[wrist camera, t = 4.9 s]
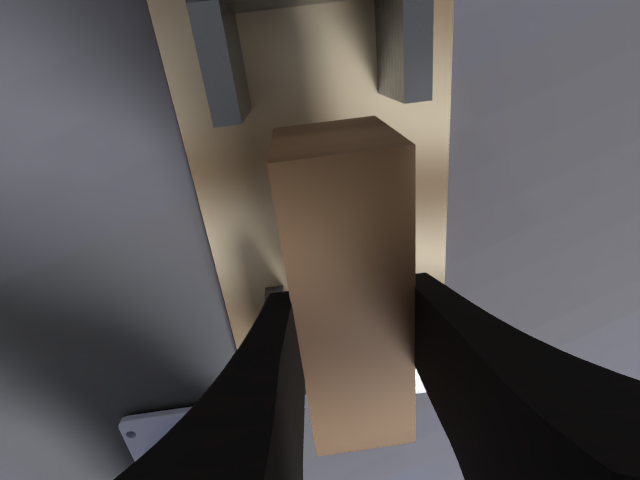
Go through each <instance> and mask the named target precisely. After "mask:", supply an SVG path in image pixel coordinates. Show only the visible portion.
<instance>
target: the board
mask: <svg viewBox="0 0 640 480" xmlns="http://www.w3.org/2000/svg"><path fill="white" fill-rule="evenodd" d="M147 4H148V8H149V12H150V16H151V19H152V23H153V27H154V31H155V35H156V39H157V43H158V46H159V50H160V54H161V58H162V62H163V66H164V70H165V73H166V77H167V81H168V85H169V89H170V93H171V97H172V100H173V104H174V108H175V112H176V116H177V120H178V124H179V127H180V131H181V135H182V139H183V143H184V147H185V151H186V155H187V158H188V162H189V166H190V170H191V174H192V178H193V182H194V185H195V189H196V193H197V197H198V201H199V205H200V209H201V212H202V216H203V220H204V224H205V228H206V232H207V236H208V239H209V243H210V247H211V251H212V255H213V259H214V263H215V266H216V270H217V274H218V278H219V282H220V286H221V290H222V293H223V297H224V301H225V305H226V309H227V313H228V317H229V321H230V324H231V328H232V332H233V336H234V340H235V344H236V348H237V349H238V348H239V346H240V345H241V343H242V342H243V340H244V338H245V337H246V335H247V333H248V332H249V330H250V329H251V327H252V325H253V324H254V322H255V320H256V318H257V316H258V315H259V313H260V311H261V309H262V307H263V305H264V296H265V288H266V287H274V286H281V285H283V287H284V291H289V290H288V284H287V278H286V272H285V266H284V261H283V255H282V249H281V243H280V237H279V232H278V226H277V220H276V214H275V208H274V202H273V197H272V191H271V185H270V179H269V173H268V168H267V160H268V154H269V148H270V142H271V137H272V131H273V128H279V127H287V126H295V125H303V124H311V123H319V122H327V121H335V120H343V119H350V118H358V117H366V116H374V115H375V116H376V117H378V118H379V119H380V120H382V121H383V122H385V123H386V124H387V125H389V126H390V127H392V128H393V129H394V130H396V131H397V132H399V133H400V134H401V135H403V136H404V137H406V138H407V139H408V140H410V141H411V142H413V143H414V144H415V145H416V273H424V272H426V273H428V274H429V275H431V276H432V277H434V278H435V279H437V280H438V281H440V282H441V283H443V284H444V283H445V253H446V223H447V194H448V164H449V135H450V105H451V76H452V46H453V16H454V0H434V25H433V93H432V101H424V102H416V103H408V104H403V103H401V102H398V101H396V100H393V99H391V98H388V97H386V96H383V95H381V94H378V79H377V55H376V32H375V8H374V0H347V1H338V2H330V3H321V4H313V5H304V6H296V7H288V8H279V9H271V10H262V11H254V12H245V13H237V14H235V16H236V21H237V27H238V32H239V38H240V44H241V49H242V55H243V61H244V66H245V72H246V78H247V83H248V89H249V95H250V100H251V106H252V110H251V111H250V113H249V115H248V116H247V118H246V119H245V121H244V122H243V124H240V125H232V126H224V127H216V128H213V123H212V119H211V114H210V110H209V105H208V101H207V96H206V92H205V87H204V83H203V78H202V74H201V69H200V65H199V60H198V56H197V51H196V47H195V42H194V38H193V33H192V29H191V24H190V20H189V15H188V11H187V6H186V2H185V0H147Z"/></svg>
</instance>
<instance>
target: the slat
mask: <svg viewBox="0 0 640 480" xmlns="http://www.w3.org/2000/svg"><path fill="white" fill-rule="evenodd" d="M267 168H268V173H269V179H270V185H271V191H272V197H273V202H274V208H275V214H276V220H277V226H278V232H279V237H280V243H281V249H282V255H283V261H284V266H285V272H286V278H287V284H288V290H289V296H290V301H291V304H292V308H293V314H294V320H295V326H296V331H297V337H298V343H299V349H300V355H301V361H302V367H303V372H304V378H305V389H306V394H307V400H308V406H309V412H310V418H311V423H312V429H313V435H314V441H315V447H316V453H317V456H324V455H331V454H338V453H345V452H352V451H359V450H366V449H372V448H379V447H386V446H393V445H400V444H407V443H414V442H416V368H415V287H416V145H415V144H414V143H413V142H411V141H410V140H408V139H407V138H406V137H404V136H403V135H401V134H400V133H399V132H397V131H396V130H394V129H393V128H392V127H390V126H389V125H387V124H386V123H385V122H383V121H382V120H380V119H379V118H378V117H376V116H375V115H374V116H366V117H358V118H350V119H343V120H335V121H327V122H319V123H311V124H303V125H295V126H287V127H279V128H273V131H272V137H271V142H270V148H269V154H268V160H267Z"/></svg>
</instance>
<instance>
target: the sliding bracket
mask: <svg viewBox="0 0 640 480" xmlns="http://www.w3.org/2000/svg"><path fill="white" fill-rule="evenodd" d="M338 1H347V0H185V2H186V6H187V11H188V15H189V20H190V24H191V29H192V33H193V38H194V42H195V47H196V51H197V56H198V60H199V65H200V69H201V74H202V78H203V83H204V87H205V92H206V96H207V101H208V105H209V110H210V114H211V119H212V123H213V128H216V127H224V126H232V125H240V124H243V122H244V121H245V119H246V118H247V116H248V115H249V113H250V111H251V110H252V106H251V100H250V95H249V89H248V83H247V78H246V72H245V66H244V61H243V55H242V49H241V44H240V38H239V32H238V27H237V21H236V16H235V14H237V13H245V12H254V11H262V10H271V9H279V8H288V7H296V6H304V5H313V4H321V3H330V2H338ZM374 8H375V32H376V55H377V79H378V94H381V95H383V96H386V97H388V98H391V99H393V100H396V101H398V102H401V103H403V104H408V103H416V102H424V101H432V93H433V25H434V0H374Z"/></svg>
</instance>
